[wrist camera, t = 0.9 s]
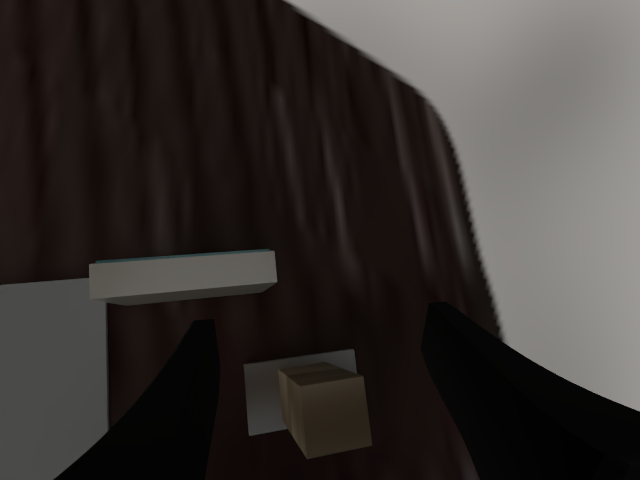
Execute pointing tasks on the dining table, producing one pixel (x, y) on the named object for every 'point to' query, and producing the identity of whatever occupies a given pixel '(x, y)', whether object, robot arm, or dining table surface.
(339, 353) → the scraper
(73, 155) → the dining table surface
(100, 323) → the mat
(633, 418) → the robot arm
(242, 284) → the tile
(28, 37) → the dining table surface
